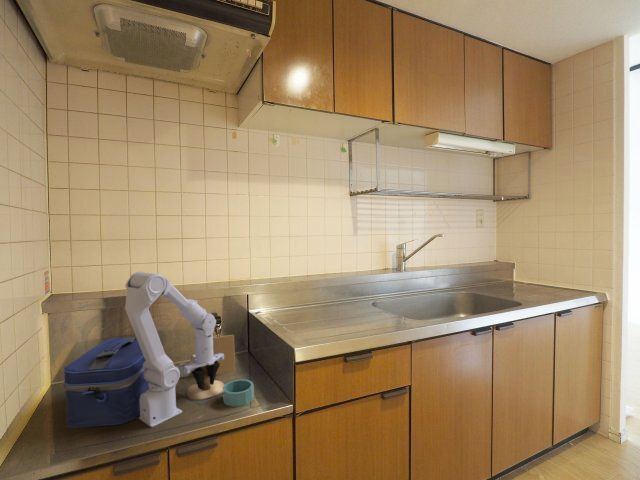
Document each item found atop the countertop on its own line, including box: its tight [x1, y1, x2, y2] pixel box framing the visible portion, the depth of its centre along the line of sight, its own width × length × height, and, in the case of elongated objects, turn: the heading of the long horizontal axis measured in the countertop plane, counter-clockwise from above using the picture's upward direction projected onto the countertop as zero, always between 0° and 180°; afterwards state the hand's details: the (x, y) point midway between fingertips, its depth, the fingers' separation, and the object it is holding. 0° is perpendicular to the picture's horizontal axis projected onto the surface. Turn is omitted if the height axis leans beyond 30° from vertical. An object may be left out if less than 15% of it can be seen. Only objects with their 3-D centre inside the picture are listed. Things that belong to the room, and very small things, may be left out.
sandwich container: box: [213, 334, 236, 376], centre depth 137 cm, size 9×15×15 cm, turn 24°
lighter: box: [176, 353, 196, 379], centre depth 129 cm, size 7×2×8 cm, turn 114°
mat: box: [178, 383, 226, 406], centre depth 116 cm, size 13×13×1 cm
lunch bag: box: [63, 337, 149, 429], centre depth 109 cm, size 31×21×20 cm
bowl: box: [222, 378, 255, 407], centre depth 111 cm, size 10×10×4 cm
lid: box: [187, 374, 225, 400], centre depth 116 cm, size 12×12×5 cm
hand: (205, 386), depth 116 cm, fingers open, 3 cm apart
